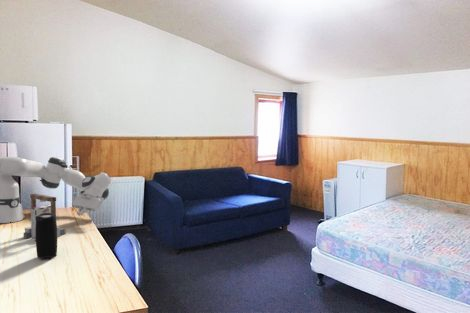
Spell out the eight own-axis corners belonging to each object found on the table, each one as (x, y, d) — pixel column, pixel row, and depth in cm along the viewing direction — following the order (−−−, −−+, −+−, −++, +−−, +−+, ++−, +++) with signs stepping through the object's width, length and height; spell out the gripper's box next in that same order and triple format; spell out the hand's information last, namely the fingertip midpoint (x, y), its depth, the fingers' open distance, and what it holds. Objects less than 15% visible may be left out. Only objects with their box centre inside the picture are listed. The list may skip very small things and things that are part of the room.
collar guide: (22, 238, 188) (21, 228, 188) (50, 230, 202) (50, 221, 202) (38, 242, 182) (38, 233, 181) (66, 234, 196) (66, 225, 195)
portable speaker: (37, 262, 157) (35, 218, 155) (35, 255, 165) (34, 213, 163) (58, 258, 161) (57, 216, 160) (56, 252, 169) (55, 211, 168)
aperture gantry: (31, 234, 195) (29, 194, 193) (36, 233, 197) (34, 193, 195) (52, 240, 186) (51, 198, 184) (57, 238, 189) (56, 197, 187)
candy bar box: (50, 233, 197) (50, 203, 196) (56, 234, 195) (55, 204, 194) (30, 238, 188) (29, 207, 186) (36, 240, 185) (35, 209, 184)
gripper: (107, 200, 216) (94, 220, 208) (84, 196, 225) (71, 215, 217) (101, 194, 211) (88, 214, 204) (78, 190, 221) (64, 209, 213)
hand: (79, 214), depth 211 cm, fingers closed
